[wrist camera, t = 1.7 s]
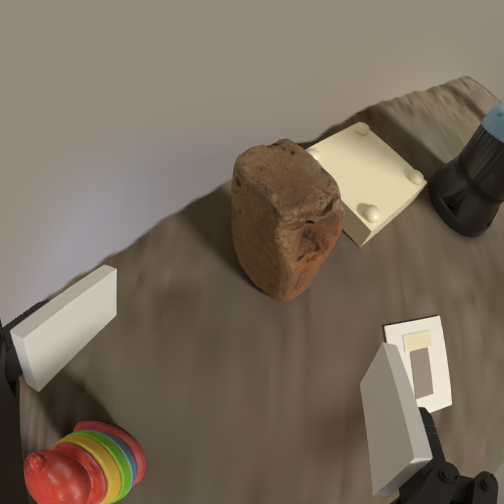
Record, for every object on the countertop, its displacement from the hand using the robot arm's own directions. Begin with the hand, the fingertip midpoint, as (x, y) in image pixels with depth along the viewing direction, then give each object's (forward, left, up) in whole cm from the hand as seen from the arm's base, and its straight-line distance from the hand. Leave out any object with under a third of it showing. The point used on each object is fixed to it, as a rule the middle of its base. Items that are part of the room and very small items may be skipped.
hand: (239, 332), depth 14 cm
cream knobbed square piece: (-11, -32, -25) cm, 42 cm away
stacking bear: (+12, +18, -25) cm, 34 cm away
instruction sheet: (-25, -5, -25) cm, 35 cm away
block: (-1, -14, -25) cm, 29 cm away
